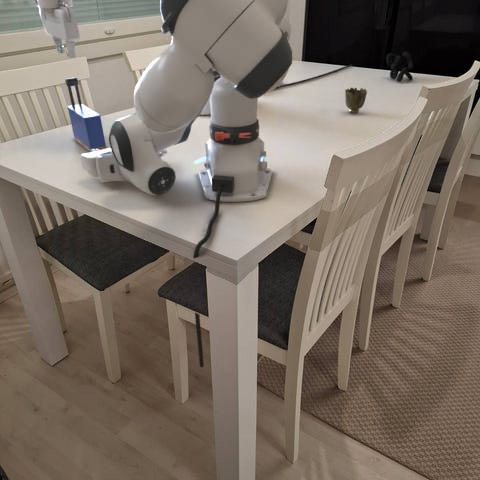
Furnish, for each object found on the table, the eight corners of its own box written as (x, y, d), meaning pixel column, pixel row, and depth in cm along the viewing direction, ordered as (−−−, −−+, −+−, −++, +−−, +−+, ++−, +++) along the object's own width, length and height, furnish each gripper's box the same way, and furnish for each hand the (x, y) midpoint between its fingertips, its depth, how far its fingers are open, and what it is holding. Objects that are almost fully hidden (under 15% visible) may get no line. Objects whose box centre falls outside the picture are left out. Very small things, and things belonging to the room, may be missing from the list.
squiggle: (400, 92, 202) (376, 71, 205) (417, 76, 202) (392, 56, 205) (405, 81, 191) (380, 59, 194) (423, 64, 191) (397, 42, 194)
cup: (340, 114, 157) (342, 91, 153) (346, 109, 163) (348, 86, 159) (361, 116, 154) (364, 93, 150) (366, 111, 160) (369, 88, 156)
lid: (67, 109, 136) (60, 78, 131) (82, 106, 138) (76, 75, 133) (84, 121, 125) (77, 87, 120) (100, 117, 127) (94, 84, 122)
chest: (74, 139, 140) (68, 109, 135) (89, 136, 143) (83, 107, 138) (91, 152, 130) (84, 121, 125) (106, 149, 132) (100, 118, 127)
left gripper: (79, 1, 114) (90, 58, 121) (55, -3, 128) (66, 49, 136) (54, 2, 111) (66, 61, 118) (32, -1, 125) (45, 51, 132)
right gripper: (169, 141, 113) (145, 128, 123) (90, 158, 103) (71, 144, 113) (171, 164, 117) (147, 150, 126) (95, 184, 106) (76, 167, 116)
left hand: (66, 55), depth 127 cm, fingers open, 8 cm apart
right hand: (111, 147), depth 119 cm, fingers open, 8 cm apart
